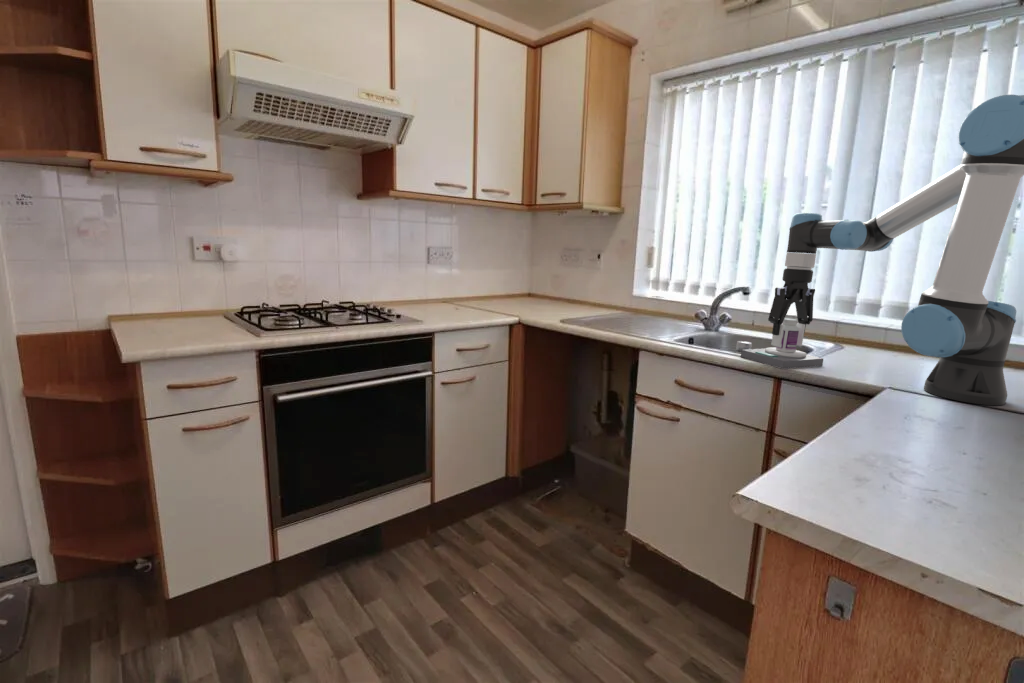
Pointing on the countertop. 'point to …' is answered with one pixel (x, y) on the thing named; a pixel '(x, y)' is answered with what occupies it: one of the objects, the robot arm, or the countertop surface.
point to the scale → (782, 358)
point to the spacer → (743, 345)
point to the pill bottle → (789, 336)
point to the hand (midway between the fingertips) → (786, 345)
